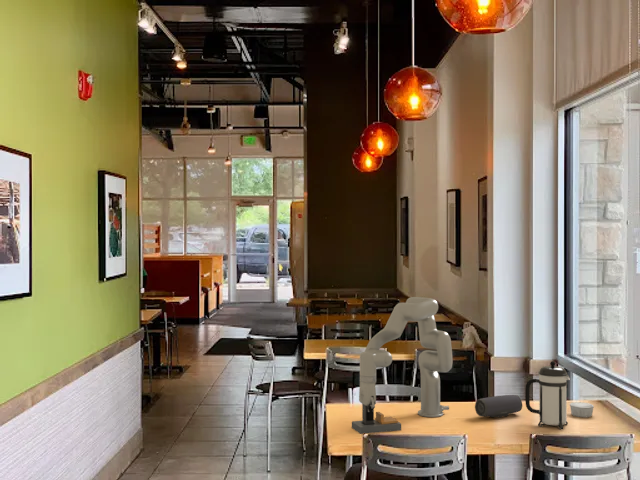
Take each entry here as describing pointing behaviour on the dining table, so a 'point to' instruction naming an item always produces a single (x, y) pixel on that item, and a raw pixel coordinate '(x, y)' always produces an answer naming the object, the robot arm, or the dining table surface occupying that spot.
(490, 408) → the bluetooth speaker
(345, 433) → the dining table surface
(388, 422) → the orange l-shaped block
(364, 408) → the dark grey square bottle
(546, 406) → the coffee press
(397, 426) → the socket block
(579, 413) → the ramekin
